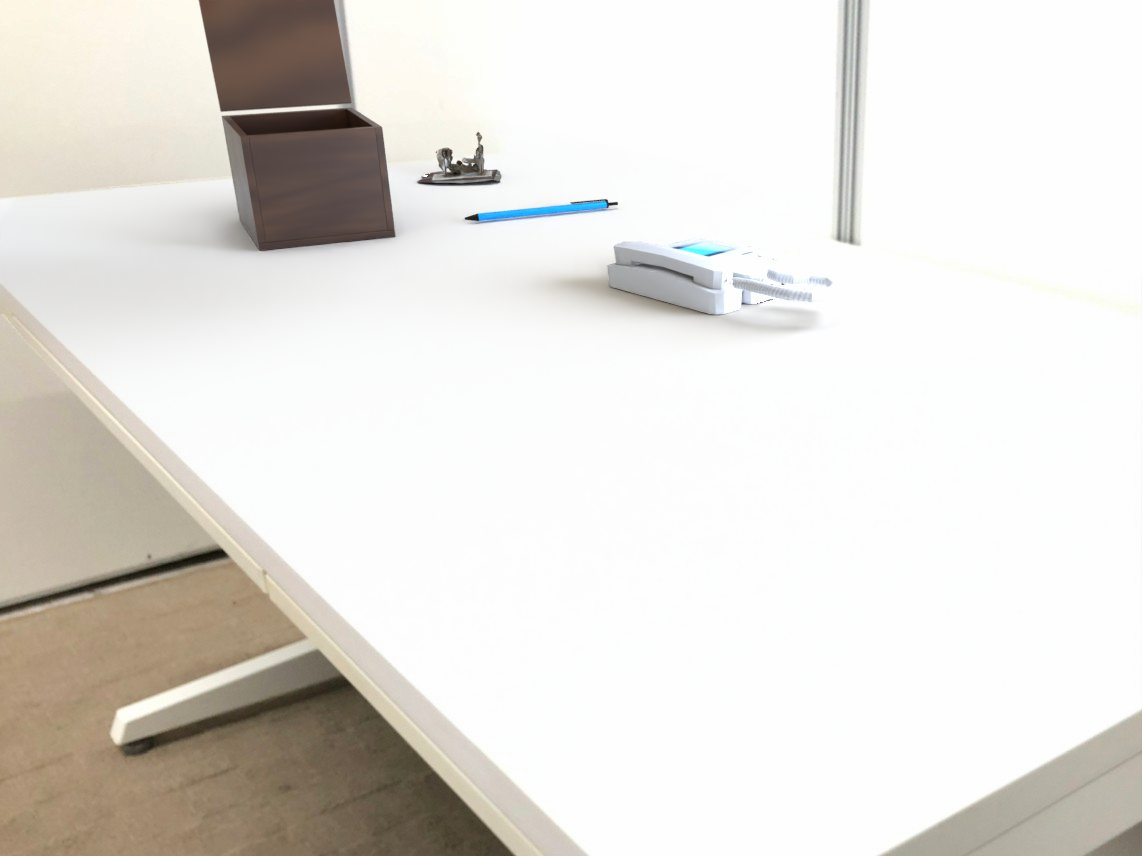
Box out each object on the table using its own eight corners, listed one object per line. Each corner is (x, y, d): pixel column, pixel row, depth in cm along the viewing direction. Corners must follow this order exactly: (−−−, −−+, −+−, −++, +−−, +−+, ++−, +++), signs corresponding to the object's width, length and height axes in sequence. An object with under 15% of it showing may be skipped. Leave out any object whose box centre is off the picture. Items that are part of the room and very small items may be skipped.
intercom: (797, 288, 110) (601, 240, 125) (796, 338, 111) (603, 285, 127) (893, 260, 118) (699, 218, 134) (891, 306, 120) (700, 260, 135)
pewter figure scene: (394, 168, 176) (457, 128, 180) (419, 211, 180) (480, 170, 184) (430, 170, 167) (496, 127, 171) (456, 215, 171) (520, 172, 174)
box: (395, 236, 146) (382, 126, 140) (259, 250, 140) (240, 136, 135) (365, 208, 159) (351, 107, 154) (239, 220, 153) (221, 115, 148)
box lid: (324, -56, 149) (323, -55, 150) (188, -54, 144) (188, -52, 144) (351, 102, 153) (350, 103, 154) (221, 111, 148) (220, 112, 148)
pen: (618, 207, 158) (618, 198, 158) (464, 223, 151) (463, 213, 150) (616, 206, 159) (615, 197, 159) (462, 221, 152) (461, 212, 151)
